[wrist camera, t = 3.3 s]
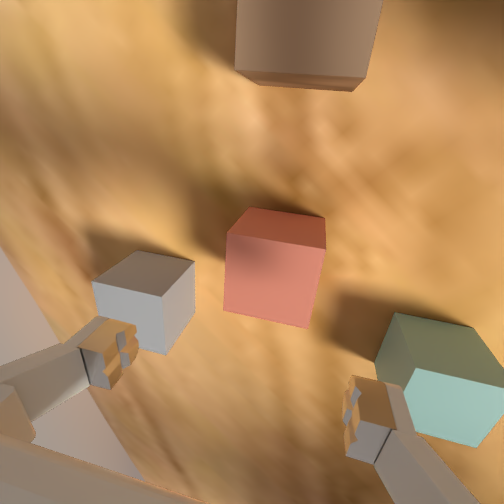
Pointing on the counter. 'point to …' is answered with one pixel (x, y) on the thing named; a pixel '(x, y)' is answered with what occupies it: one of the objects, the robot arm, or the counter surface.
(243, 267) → the brick-red block
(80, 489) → the robot arm
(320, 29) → the walnut block
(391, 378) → the muted teal block
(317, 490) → the counter surface
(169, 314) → the slate grey block
